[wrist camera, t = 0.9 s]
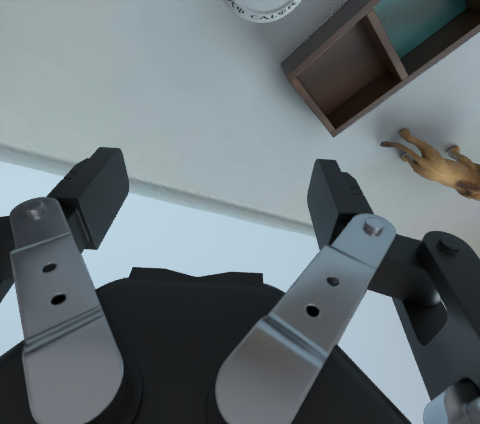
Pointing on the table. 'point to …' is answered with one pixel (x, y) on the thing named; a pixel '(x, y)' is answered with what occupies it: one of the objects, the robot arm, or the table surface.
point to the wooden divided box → (375, 53)
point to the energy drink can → (261, 9)
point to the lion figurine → (442, 166)
